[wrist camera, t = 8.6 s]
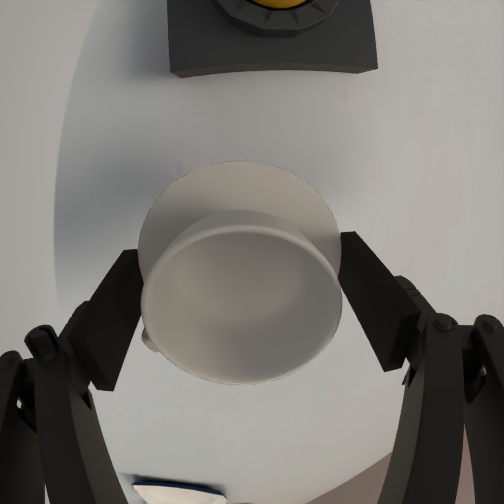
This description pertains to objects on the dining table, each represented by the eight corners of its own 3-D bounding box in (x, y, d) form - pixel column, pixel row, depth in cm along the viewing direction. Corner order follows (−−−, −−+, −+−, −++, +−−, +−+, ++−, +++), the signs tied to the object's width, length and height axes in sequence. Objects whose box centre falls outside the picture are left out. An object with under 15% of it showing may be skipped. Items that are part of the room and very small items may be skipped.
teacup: (285, 120, 12) (312, 123, 7) (361, 290, 16) (394, 347, 12) (103, 228, 13) (59, 276, 9) (209, 357, 18) (204, 420, 13)
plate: (146, 496, 52) (145, 504, 49) (128, 471, 43) (126, 482, 40) (224, 504, 54) (225, 512, 51) (228, 483, 45) (228, 494, 42)
